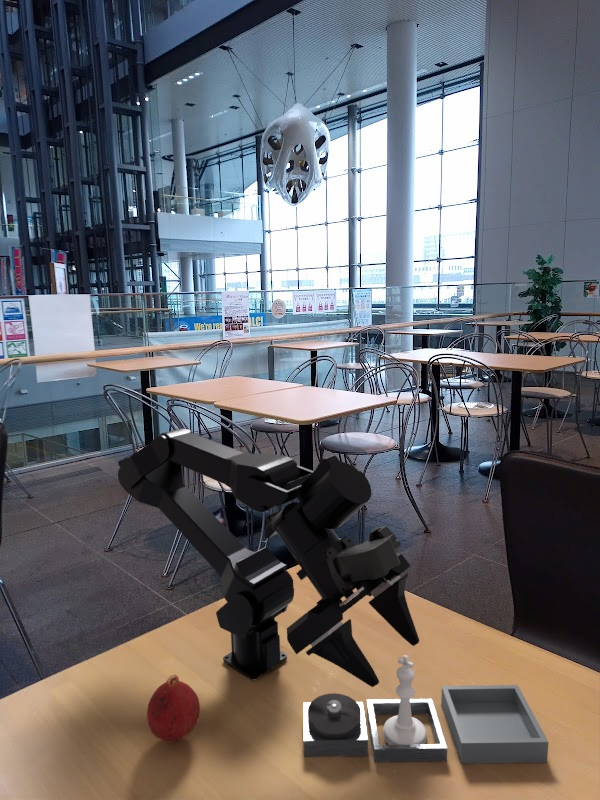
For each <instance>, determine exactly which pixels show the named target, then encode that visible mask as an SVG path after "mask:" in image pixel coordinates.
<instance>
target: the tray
mask: <svg viewBox="0 0 600 800" xmlns="http://www.w3.org/2000/svg"><path fill="white" fill-rule="evenodd" d="M440 699H441V700H440V701H441V703H440V705H441V708H442V711H443V714H444V717H445V720H446V723H447V726H448V728H449V731H450V736H451V738H452V741H453V744H454V748H455V750H456V754H457V756H458V759H459V763H460V764H462V765H463V764H466V765H467V764H469V765H470V764H471V765H472V764H520V763H521V764H526V763H529V764H530V763H538V764H539V763H548V756H549V755H548V753H549V741H548V739H547V737H546V735H545V733H544V731H543V729H542V728H541V726H540V724H539V722H538V720H537V717H536V716H535V715H534V713H533V711H532V709H531V707H530V705H529V703H528V701H527V700H526V697H525V696H524V694H523V691H522V690H521V688H520V686H519V685H518V684H509V685H508V684H503V685H501V684H497V685H495V684H494V685H493V684H492V685H489V684H488V685H486V684H485V685H441V698H440Z"/></svg>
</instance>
